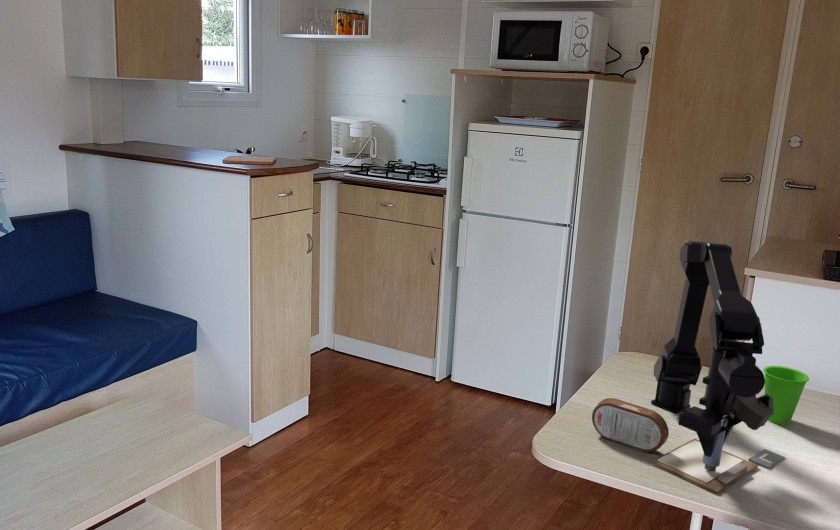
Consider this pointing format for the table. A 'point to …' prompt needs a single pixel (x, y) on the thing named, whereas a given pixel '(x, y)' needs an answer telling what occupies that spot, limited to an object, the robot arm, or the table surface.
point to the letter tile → (766, 458)
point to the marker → (715, 451)
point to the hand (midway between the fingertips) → (712, 453)
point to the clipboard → (691, 467)
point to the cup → (784, 391)
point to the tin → (630, 424)
